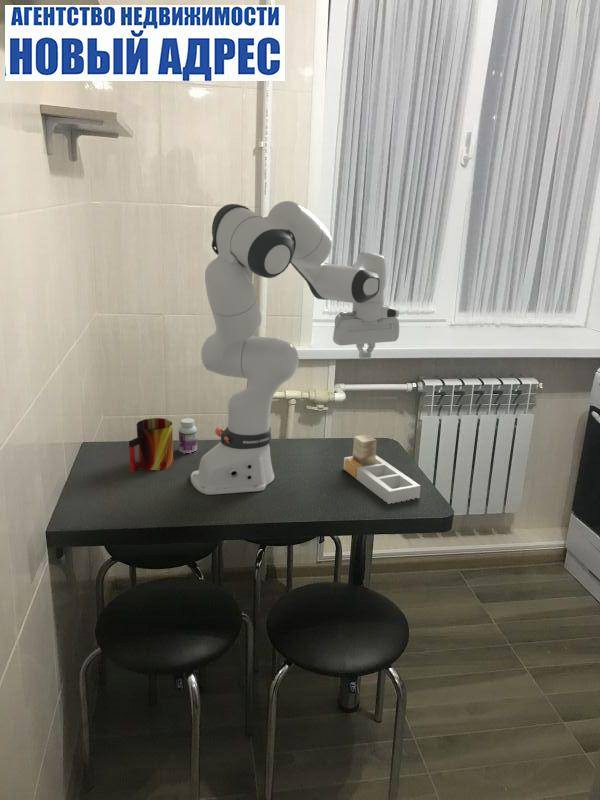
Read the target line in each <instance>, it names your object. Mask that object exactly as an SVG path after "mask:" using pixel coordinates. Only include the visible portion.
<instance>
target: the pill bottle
mask: <svg viewBox="0 0 600 800" xmlns="http://www.w3.org/2000/svg"><path fill="white" fill-rule="evenodd" d="M178 448H179V449H178V450H179V452H180V451H181V452H183V453H182V454H185V453H190V454H192V453H191V452H194V451H196V450H198V429H197V427H196V425H195V419H193V418H190V417H189V418H182V419H181V420H180V426H179V427H178ZM181 452H180V453H181ZM196 452H197V451H196ZM194 453H195V452H194Z"/></svg>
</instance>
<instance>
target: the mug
mask: <svg viewBox="0 0 600 800" xmlns="http://www.w3.org/2000/svg"><path fill="white" fill-rule="evenodd" d="M173 440H174V439H173V422H172V420H170V419H168V418H161V417H153V418H144V419H141V420H139V421H137V422H136V437H134V438H133V439H130V440H129V441H128V448H129V471H130V472H131V473H135V472H137V471H138V470H140V469H142V468H143V469H142V470H144V469H146V470H145V471H150V470H157V471H161V470H160V469H163V470H166V469H165V468H167V469H169V468H170V467H169V466H171V465H172V464H173V465H174V446H173V445H174V443H173V442H174V441H173ZM135 446H137V461H138V462H136V451H135V449H136V448H135ZM173 465H172V466H173ZM172 466H171V467H172ZM168 467H169V468H168Z"/></svg>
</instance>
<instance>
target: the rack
mask: <svg viewBox="0 0 600 800" xmlns="http://www.w3.org/2000/svg"><path fill="white" fill-rule="evenodd" d="M343 470H344V471H346V472H347V473H348V474H350V476H352V477H354V479H356V480H357V481H358V482H359V483H361V484H362V485H364V486H365V487H366V488H367V489H369V491H371V492H372V493H374V494H375V495H376V496H377V497H378V498H380V499H381V500H382V499H383V500H382V501H384V502H385V503H386V502H387V503H386V504H388V505H391V503H392V504H395V503H396V502H397V503H402V502H406V500H407V501H411V500H410V499H412V500H416V499H415V498H417V499H420V497H421V484H419V483H417V482H416V481H415V480H414V479H412V478H410V477H409V476H407V475H405V474H404V473H403V472H402V471H400V470H398V469H397V468H396V467H394V466H393V465H391V464H390V463H388V462H387V461H385V460H384V459H383V458H381V457H379V455H377V454H376V456H375V465H370V466H363V467H362V465H361V464H359V463H358V462H357V461H355V460H354V459H353V455H351V456H346V457H344V458H343ZM401 501H402V502H401Z"/></svg>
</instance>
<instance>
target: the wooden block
mask: <svg viewBox="0 0 600 800" xmlns="http://www.w3.org/2000/svg"><path fill="white" fill-rule="evenodd" d="M377 442H378V441H377V438H374V437H373V436H371V435H370V434H362V435H355V436H353V446H352V447H353V449H352V456H353V459H354V460H355V461H357V462H358V463H359V464H361V465H362V467H363V466H370V465H375V456H376V455H377V453H376V452H377Z"/></svg>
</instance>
